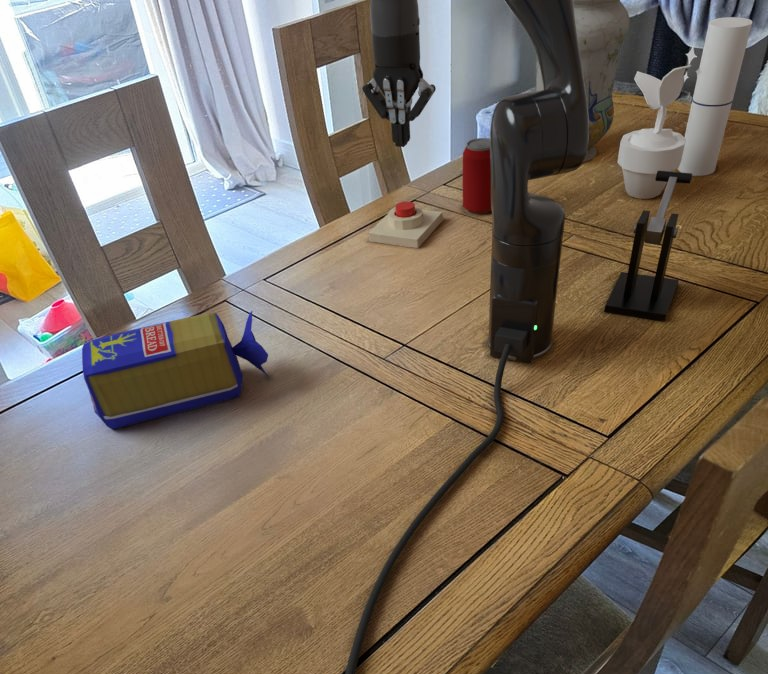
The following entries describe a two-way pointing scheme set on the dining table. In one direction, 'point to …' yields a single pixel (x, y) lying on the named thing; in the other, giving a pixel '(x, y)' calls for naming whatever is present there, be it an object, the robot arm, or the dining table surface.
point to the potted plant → (653, 136)
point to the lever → (664, 204)
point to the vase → (598, 60)
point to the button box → (406, 228)
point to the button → (405, 209)
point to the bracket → (645, 279)
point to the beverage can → (477, 176)
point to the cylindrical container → (714, 93)
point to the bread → (166, 368)
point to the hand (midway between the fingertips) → (401, 145)
